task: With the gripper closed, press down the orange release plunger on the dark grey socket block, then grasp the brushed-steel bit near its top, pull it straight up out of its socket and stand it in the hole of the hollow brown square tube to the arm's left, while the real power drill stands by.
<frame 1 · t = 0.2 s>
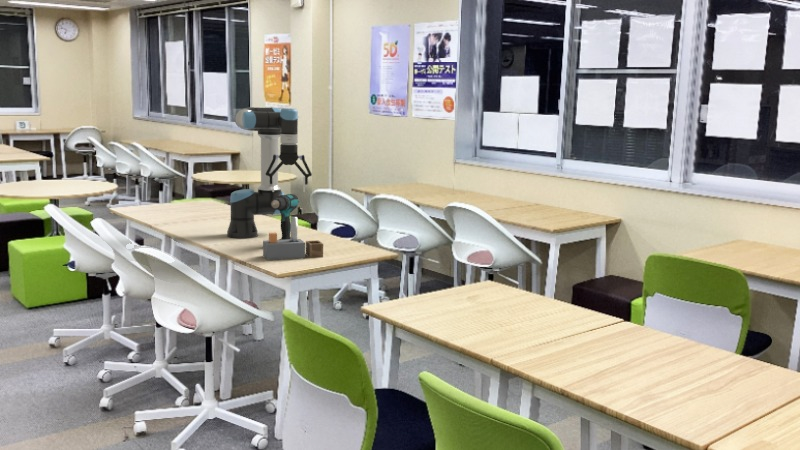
hand: (288, 191, 321), 29 cm above the table, fingers open, 13 cm apart
power drill: (283, 247, 343), on the table
steel bit: (293, 256, 324), resting in socket block
socket block: (285, 256, 322), on the table
release plunger: (272, 242, 319), point 7 cm above the table, slide at 0.0 cm
hollow brown square tube: (314, 255, 327), on the table
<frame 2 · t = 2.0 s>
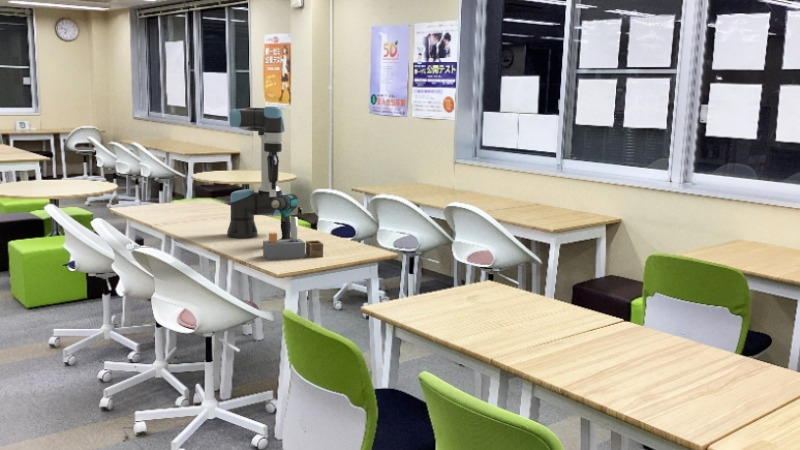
hand: (272, 196, 315), 27 cm above the table, fingers closed
nothing on the table moved.
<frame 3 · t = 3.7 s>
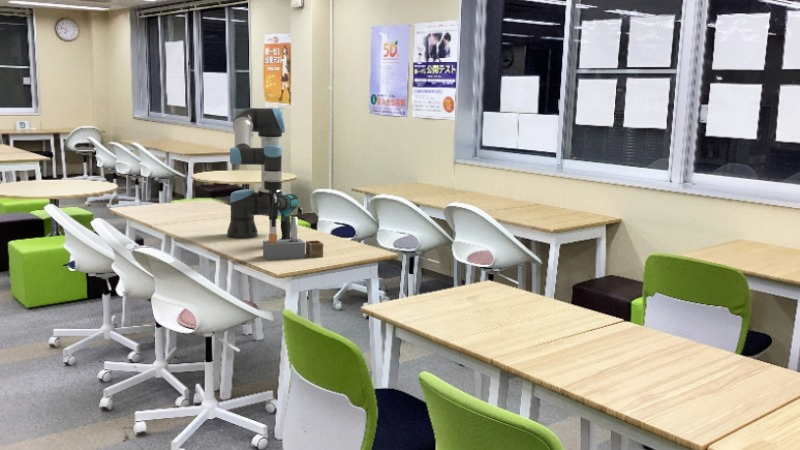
hand: (272, 233, 318), 11 cm above the table, fingers closed
release plunger: (272, 242, 319), point 7 cm above the table, slide at -0.3 cm, touching gripper
everything else where it was.
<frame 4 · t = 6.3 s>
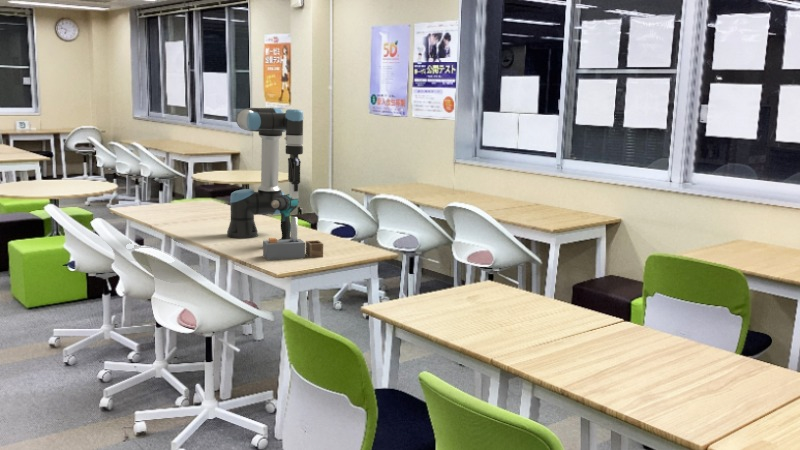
hand: (294, 197, 319), 27 cm above the table, fingers open, 5 cm apart
release plunger: (272, 247, 319), point 5 cm above the table, slide at -2.5 cm
everything else where it was.
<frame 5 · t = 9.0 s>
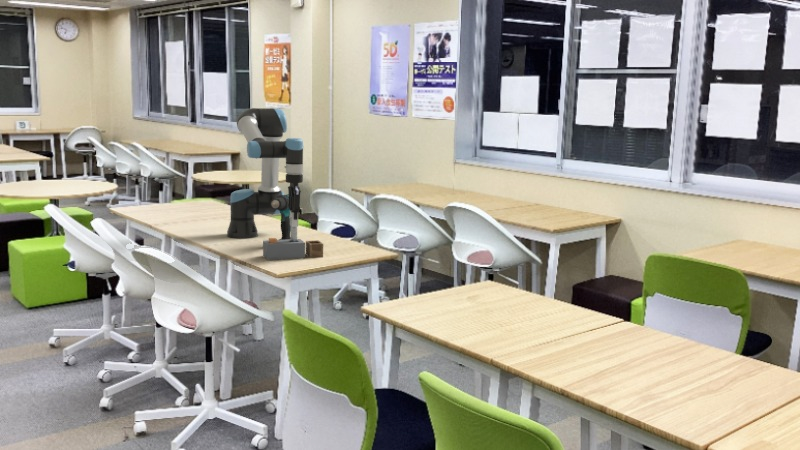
hand: (294, 225, 321), 14 cm above the table, fingers closed on steel bit, 3 cm apart
steel bit: (293, 256, 324), resting in socket block, touching gripper
everything else where it was.
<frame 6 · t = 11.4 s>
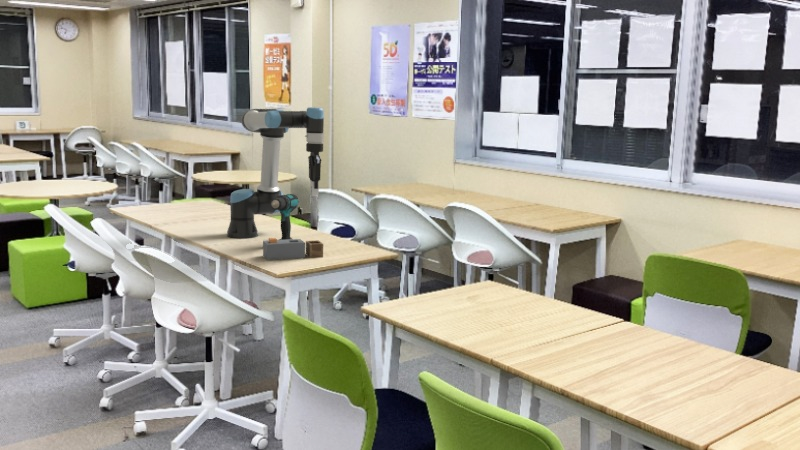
hand: (314, 195, 322), 28 cm above the table, fingers closed on steel bit, 3 cm apart
steel bit: (314, 226, 325), point 14 cm above the table, touching gripper
everything else where it was.
when the fingers open (16 cm above the table, at t = 13.8 s): steel bit drops 1 cm, resting in hollow brown square tube.
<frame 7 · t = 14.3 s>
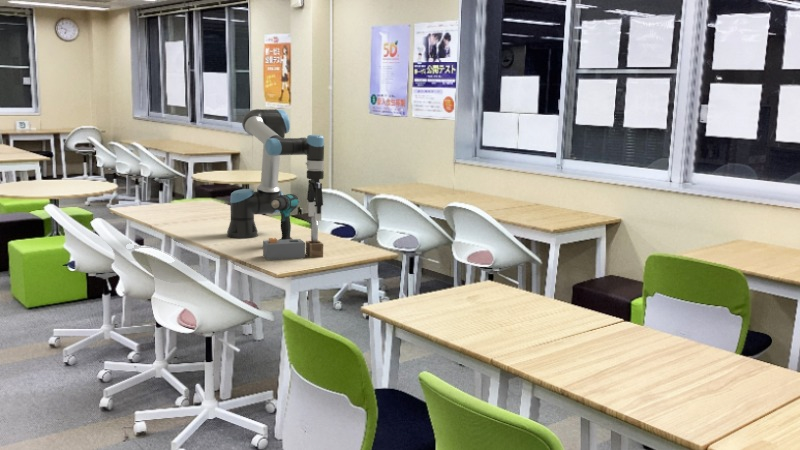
hand: (314, 218, 324), 17 cm above the table, fingers open, 11 cm apart
steel bit: (314, 255, 327), resting in hollow brown square tube
everything else where it was.
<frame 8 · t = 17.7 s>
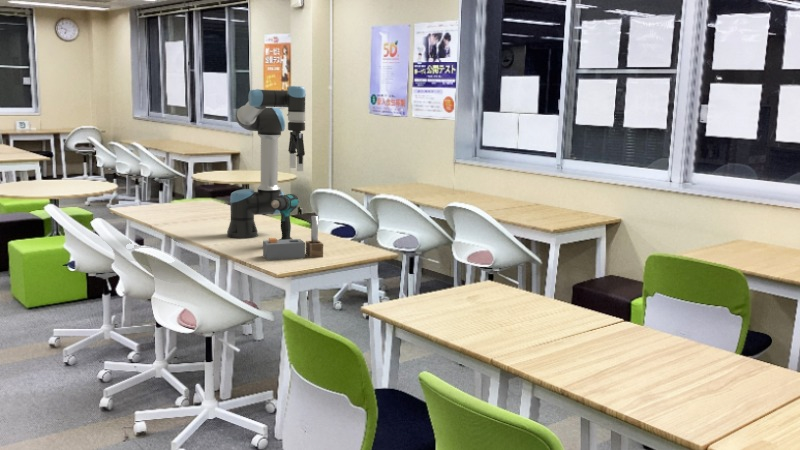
hand: (296, 169, 322), 39 cm above the table, fingers open, 13 cm apart
nothing on the table moved.
at the end: release plunger slide at -2.5 cm; steel bit 0.0 cm off-centre on the hollow brown square tube, point 0.0 cm above the hollow brown square tube's base; steel bit tilted 0° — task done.
